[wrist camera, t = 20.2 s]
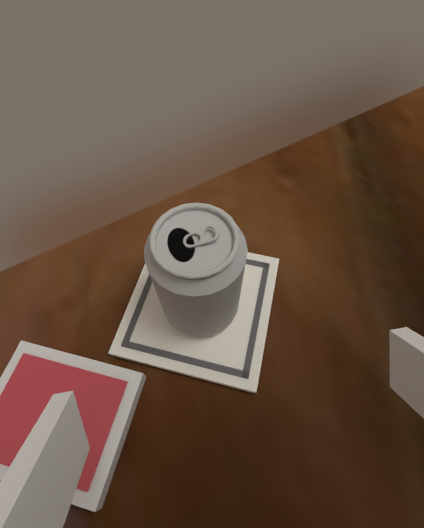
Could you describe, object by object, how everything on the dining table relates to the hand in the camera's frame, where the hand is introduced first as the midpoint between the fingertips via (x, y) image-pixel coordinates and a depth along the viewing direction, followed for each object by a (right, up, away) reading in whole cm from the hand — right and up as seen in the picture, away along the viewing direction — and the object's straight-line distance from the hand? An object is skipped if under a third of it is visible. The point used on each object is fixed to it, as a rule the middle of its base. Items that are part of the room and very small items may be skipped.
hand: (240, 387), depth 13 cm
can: (-2, +1, +19) cm, 19 cm away
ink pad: (-14, -8, +15) cm, 22 cm away
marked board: (-2, +1, +20) cm, 20 cm away
